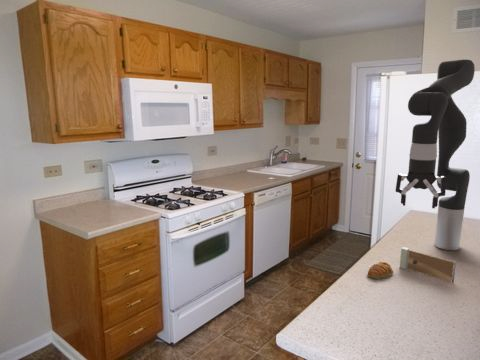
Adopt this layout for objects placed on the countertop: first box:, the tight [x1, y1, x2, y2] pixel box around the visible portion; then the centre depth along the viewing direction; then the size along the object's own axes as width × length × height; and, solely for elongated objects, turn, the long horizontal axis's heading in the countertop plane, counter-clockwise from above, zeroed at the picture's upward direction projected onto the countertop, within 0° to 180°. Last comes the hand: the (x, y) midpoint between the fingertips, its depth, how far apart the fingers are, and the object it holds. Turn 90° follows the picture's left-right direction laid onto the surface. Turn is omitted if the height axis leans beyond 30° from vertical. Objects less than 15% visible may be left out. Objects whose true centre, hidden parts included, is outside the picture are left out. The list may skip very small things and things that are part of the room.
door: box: [406, 249, 454, 283], centre depth 122 cm, size 2×14×7 cm, turn 45°
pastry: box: [367, 261, 394, 280], centre depth 123 cm, size 9×7×4 cm
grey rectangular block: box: [399, 246, 457, 284], centre depth 123 cm, size 2×17×8 cm, turn 45°
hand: (418, 206), depth 115 cm, fingers open, 8 cm apart
